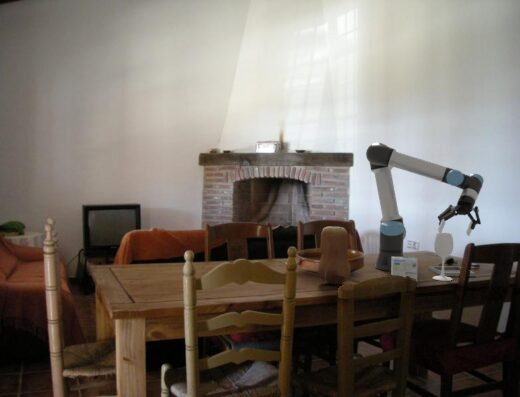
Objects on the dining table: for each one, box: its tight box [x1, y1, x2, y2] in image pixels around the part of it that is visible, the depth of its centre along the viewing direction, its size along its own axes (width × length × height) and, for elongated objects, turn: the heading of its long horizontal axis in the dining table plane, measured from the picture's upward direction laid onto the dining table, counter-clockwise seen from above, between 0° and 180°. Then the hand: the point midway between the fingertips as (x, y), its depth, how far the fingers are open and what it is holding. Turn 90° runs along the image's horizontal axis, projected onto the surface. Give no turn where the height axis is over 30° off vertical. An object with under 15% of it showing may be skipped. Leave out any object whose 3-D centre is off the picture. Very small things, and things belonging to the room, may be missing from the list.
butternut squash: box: [317, 226, 351, 286], centre depth 209 cm, size 14×13×25 cm
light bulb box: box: [390, 256, 419, 282], centre depth 218 cm, size 11×7×11 cm, turn 84°
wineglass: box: [432, 232, 454, 282], centre depth 224 cm, size 9×9×21 cm
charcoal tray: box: [427, 265, 476, 278], centre depth 239 cm, size 16×16×2 cm
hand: (453, 232), depth 231 cm, fingers open, 13 cm apart
